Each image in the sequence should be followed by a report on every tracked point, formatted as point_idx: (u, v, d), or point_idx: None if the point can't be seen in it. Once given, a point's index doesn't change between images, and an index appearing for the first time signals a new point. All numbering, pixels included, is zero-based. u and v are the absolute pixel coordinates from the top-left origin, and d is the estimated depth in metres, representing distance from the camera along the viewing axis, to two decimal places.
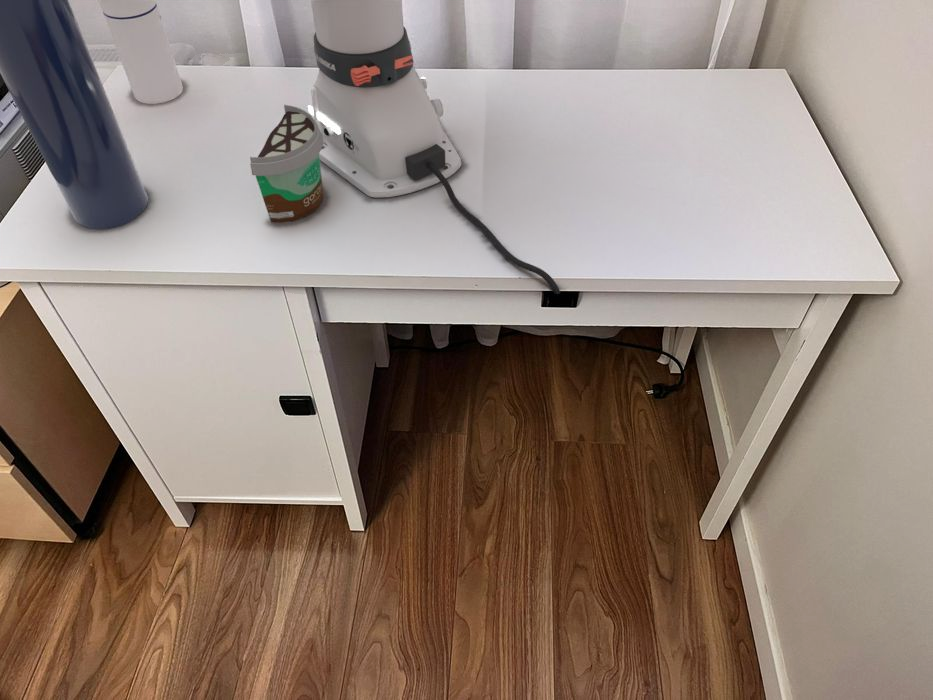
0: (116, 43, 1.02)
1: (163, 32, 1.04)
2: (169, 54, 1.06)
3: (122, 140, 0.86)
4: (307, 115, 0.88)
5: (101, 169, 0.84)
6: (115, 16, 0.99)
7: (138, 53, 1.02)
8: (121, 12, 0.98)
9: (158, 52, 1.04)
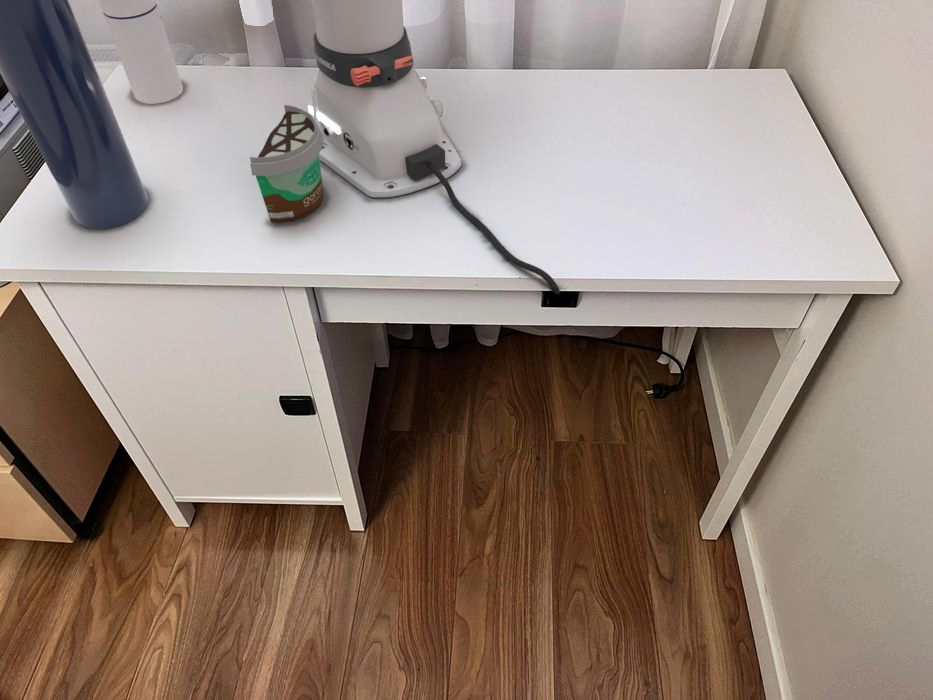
0: (116, 43, 1.02)
1: (163, 32, 1.04)
2: (169, 54, 1.06)
3: (122, 140, 0.86)
4: (307, 115, 0.88)
5: (101, 169, 0.84)
6: (115, 16, 0.99)
7: (138, 53, 1.02)
8: (121, 12, 0.98)
9: (158, 52, 1.04)
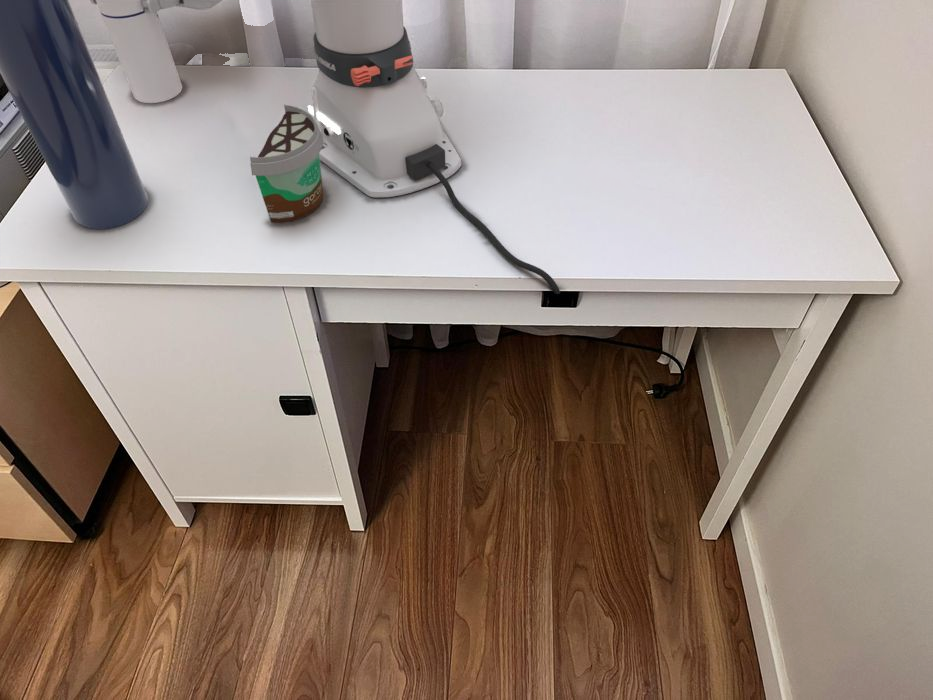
0: (114, 43, 1.02)
1: (161, 31, 1.04)
2: (168, 53, 1.06)
3: (122, 140, 0.86)
4: (307, 115, 0.88)
5: (101, 169, 0.84)
6: (112, 15, 0.99)
7: (136, 52, 1.02)
8: (118, 11, 0.98)
9: (156, 51, 1.04)
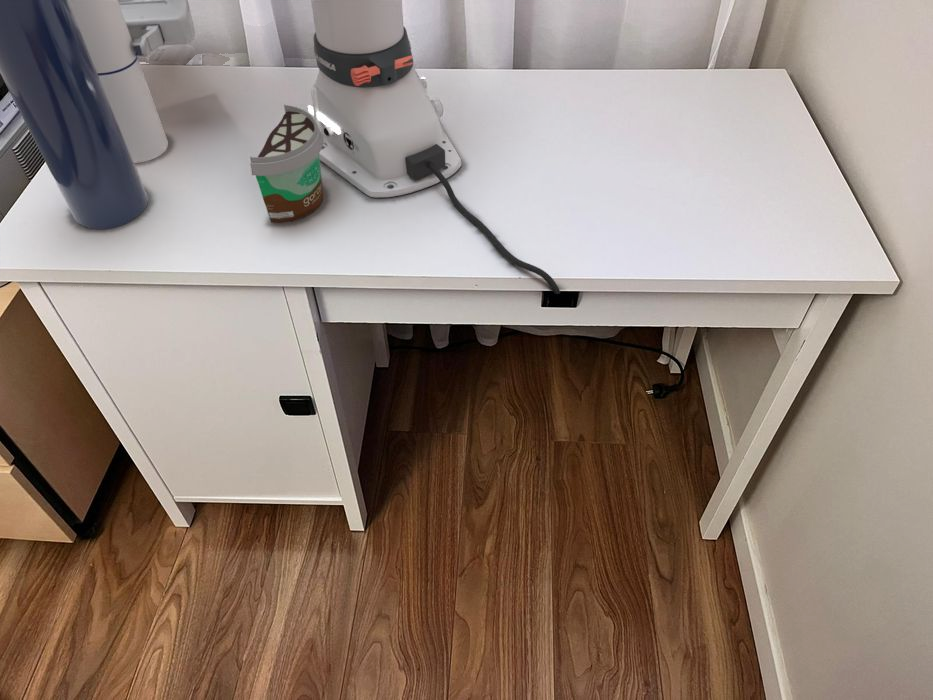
0: None
1: None
2: None
3: (122, 140, 0.86)
4: (307, 115, 0.88)
5: (101, 169, 0.84)
6: (103, 72, 0.89)
7: (130, 108, 0.93)
8: (111, 66, 0.88)
9: (147, 102, 0.95)
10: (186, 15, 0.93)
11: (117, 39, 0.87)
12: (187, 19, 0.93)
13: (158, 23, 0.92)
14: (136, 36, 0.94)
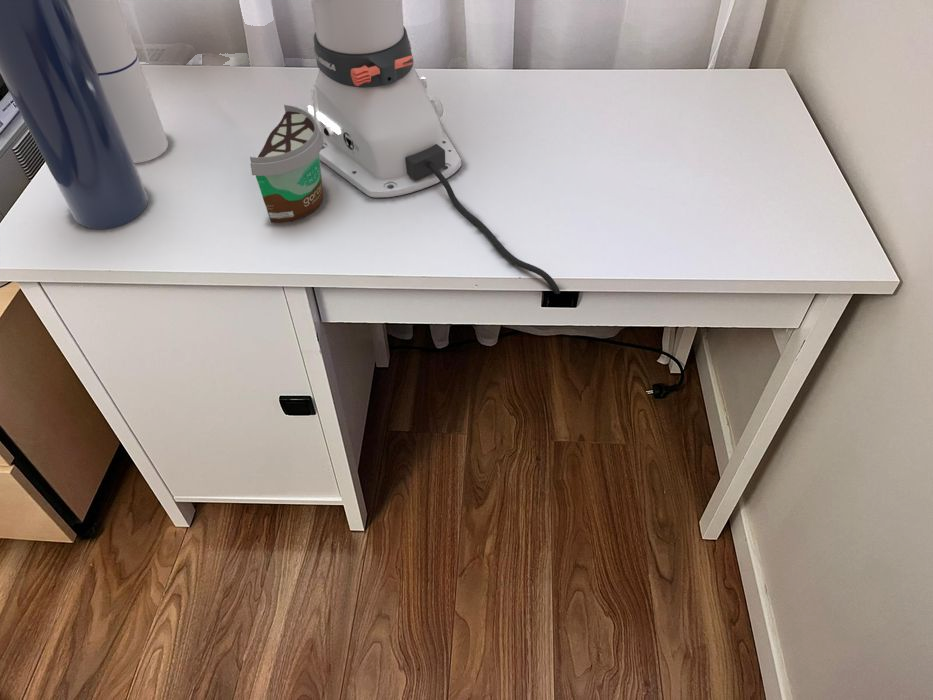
0: None
1: None
2: None
3: (122, 140, 0.86)
4: (307, 115, 0.88)
5: (101, 169, 0.84)
6: (103, 72, 0.89)
7: (130, 108, 0.93)
8: (111, 66, 0.88)
9: (147, 103, 0.95)
10: None
11: (118, 39, 0.87)
12: None
13: None
14: None
